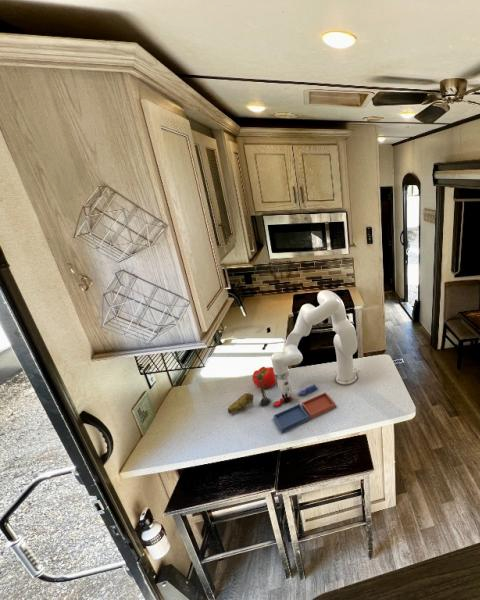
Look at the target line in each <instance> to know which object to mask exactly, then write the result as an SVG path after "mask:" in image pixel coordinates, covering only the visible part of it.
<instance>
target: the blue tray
mask: <svg viewBox="0 0 480 600" xmlns="http://www.w3.org/2000/svg"><path fill="white" fill-rule="evenodd" d="M273 419H274V422H275V423H276V425H277V426H278V429H279V430H280V432H281V433H282V434H284V433H286V432H288V431H290V430H292V429H294V428H296V427H298V426H300V425H303V424H304V423H307V422H308V421H310V417H309V415H308V414H307V413H306V411H305V410H304V408H303V407H302V404H301V403H298V404H295V405H293V406H291V407H289V408H287V409H285V410H282V411H280V412H278V413H276V414H273Z"/></svg>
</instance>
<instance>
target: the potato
mask: <svg viewBox="0 0 480 600" xmlns="http://www.w3.org/2000/svg"><path fill="white" fill-rule="evenodd" d="M253 403H254V395H253V394H252V393H249V392H248V393H244V394H242V395H241V396H239V397H238V398H237V399H236V400H235V401H234V402H233V403H232V404H230V405H229V407H227V411H228V413H229V414H235V413H237V412H238V411H241V410H243V409H245V408H246V407H248V406H249V405H251V404H253Z"/></svg>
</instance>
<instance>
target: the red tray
mask: <svg viewBox="0 0 480 600" xmlns="http://www.w3.org/2000/svg"><path fill="white" fill-rule="evenodd" d="M301 406H302V408H303V409H304V411H305V412H306V413H307V415H308V416H309V419H310V420H313V419H315V418H317V417H319V416H321V415H323V414H325V413H327V412H329V411H331V410H333V409H335V408H336V406H337V405H336V402H335V401H334V400H333V399H332V398H331V397H330V396H329V395H328V393H327V392H323V393H320V394H318V395H316V396H313V397H311V398H309V399H307V400H305V401H302V402H301Z"/></svg>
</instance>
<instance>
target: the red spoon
mask: <svg viewBox="0 0 480 600" xmlns="http://www.w3.org/2000/svg"><path fill="white" fill-rule="evenodd" d="M290 400H291V401H292V400H293V399H292V395H291V394H290ZM283 404H286V403H285V402H284V398H283V397H281V398H279V400H276V401H274V402H273V406H274V407H275V408H279V407H280V406H281V405H283Z"/></svg>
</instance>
